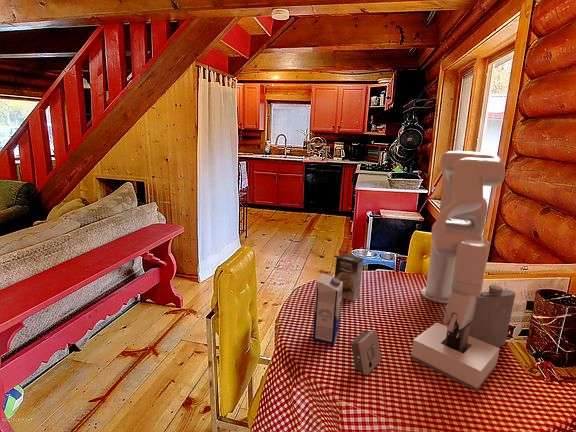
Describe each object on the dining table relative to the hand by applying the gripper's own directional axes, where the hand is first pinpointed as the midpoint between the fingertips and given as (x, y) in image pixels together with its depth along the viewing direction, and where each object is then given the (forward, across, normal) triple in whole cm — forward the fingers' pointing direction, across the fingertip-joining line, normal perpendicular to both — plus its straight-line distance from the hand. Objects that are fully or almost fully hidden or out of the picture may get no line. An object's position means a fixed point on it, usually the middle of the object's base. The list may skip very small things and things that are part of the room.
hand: (456, 344), depth 100 cm
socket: (+6, 0, 0) cm, 6 cm away
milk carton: (+6, +18, -32) cm, 37 cm away
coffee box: (+6, -10, -46) cm, 48 cm away
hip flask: (+6, -16, +3) cm, 18 cm away
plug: (+3, 0, 0) cm, 3 cm away
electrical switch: (+6, +20, -16) cm, 27 cm away
